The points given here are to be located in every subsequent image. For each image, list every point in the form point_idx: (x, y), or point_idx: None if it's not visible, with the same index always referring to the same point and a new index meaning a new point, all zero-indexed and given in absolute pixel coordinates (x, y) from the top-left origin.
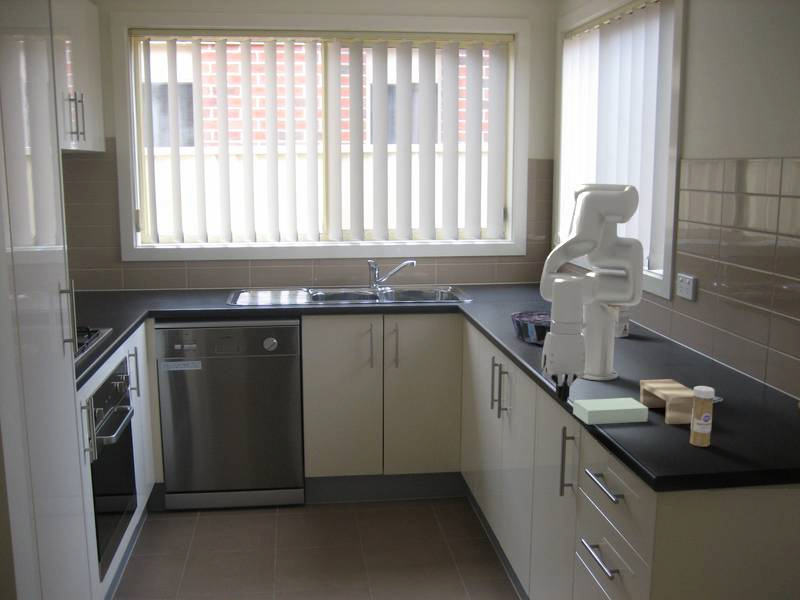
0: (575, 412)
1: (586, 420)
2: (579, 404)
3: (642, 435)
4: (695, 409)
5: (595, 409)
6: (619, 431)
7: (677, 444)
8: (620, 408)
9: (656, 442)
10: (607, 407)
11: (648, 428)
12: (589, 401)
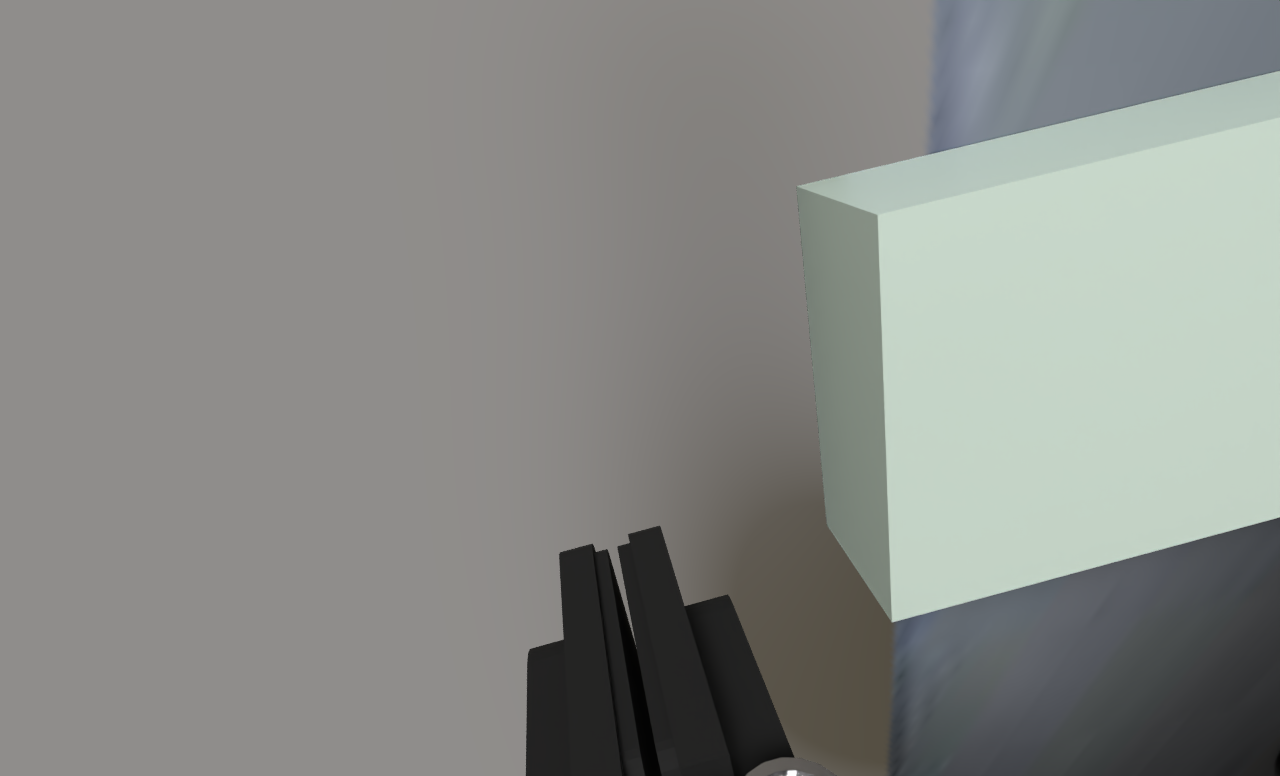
0: (815, 264)
1: (837, 520)
2: (884, 411)
3: (1114, 673)
4: None
5: (989, 569)
6: (1006, 630)
7: (1210, 762)
8: (1268, 502)
9: (1118, 758)
10: (1157, 486)
11: (1251, 542)
12: (1082, 256)
